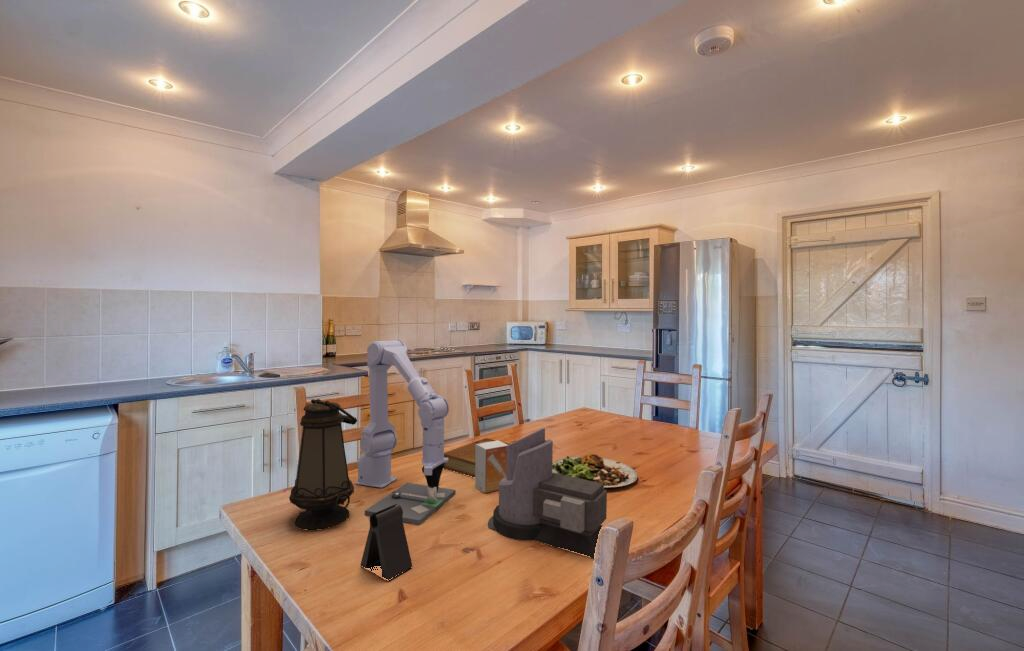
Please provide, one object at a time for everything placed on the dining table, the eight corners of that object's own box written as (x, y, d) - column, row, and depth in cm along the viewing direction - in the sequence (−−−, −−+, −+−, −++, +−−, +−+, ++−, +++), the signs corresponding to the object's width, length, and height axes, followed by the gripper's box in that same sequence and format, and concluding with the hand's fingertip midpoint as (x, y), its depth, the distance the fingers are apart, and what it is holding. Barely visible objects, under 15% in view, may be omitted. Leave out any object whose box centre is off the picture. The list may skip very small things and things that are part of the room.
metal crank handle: (389, 497, 121) (389, 482, 121) (395, 493, 123) (395, 479, 123) (434, 504, 116) (434, 489, 116) (439, 500, 119) (439, 485, 119)
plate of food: (537, 484, 135) (538, 465, 134) (561, 457, 160) (562, 440, 160) (631, 503, 124) (632, 481, 124) (641, 470, 150) (642, 452, 150)
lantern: (272, 520, 110) (271, 400, 109) (327, 499, 123) (327, 391, 122) (315, 541, 100) (314, 409, 99) (370, 516, 112) (370, 399, 112)
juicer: (475, 527, 107) (476, 427, 107) (510, 503, 121) (511, 415, 120) (592, 565, 91) (593, 448, 91) (617, 533, 105) (618, 431, 104)
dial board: (364, 515, 113) (364, 510, 113) (407, 486, 132) (407, 482, 132) (420, 525, 108) (420, 520, 108) (456, 494, 127) (456, 489, 127)
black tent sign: (360, 566, 90) (360, 508, 90) (384, 553, 95) (384, 498, 95) (388, 582, 85) (388, 521, 84) (412, 568, 90) (412, 510, 89)
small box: (485, 494, 127) (485, 449, 127) (474, 486, 132) (474, 443, 132) (508, 488, 131) (509, 444, 131) (497, 481, 137) (497, 439, 136)
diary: (484, 452, 167) (484, 437, 167) (524, 463, 156) (525, 446, 156) (440, 469, 148) (440, 452, 148) (482, 482, 137) (483, 463, 137)
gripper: (443, 451, 112) (443, 503, 113) (452, 435, 127) (452, 482, 127) (415, 450, 112) (415, 503, 113) (427, 435, 127) (427, 481, 127)
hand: (433, 492), depth 120 cm, fingers closed
